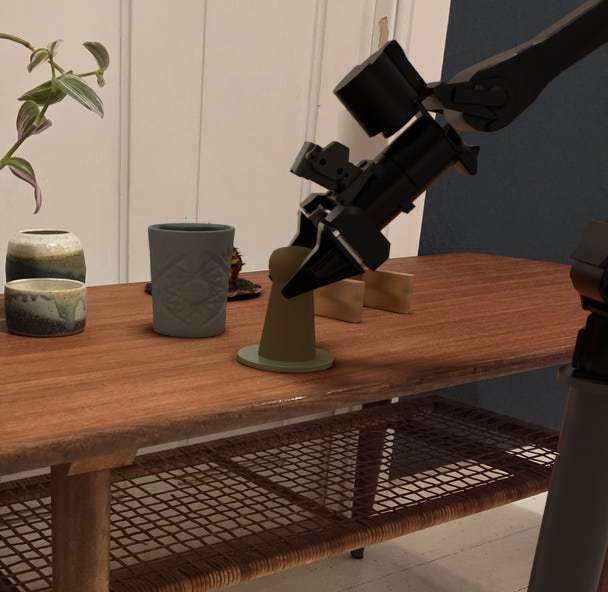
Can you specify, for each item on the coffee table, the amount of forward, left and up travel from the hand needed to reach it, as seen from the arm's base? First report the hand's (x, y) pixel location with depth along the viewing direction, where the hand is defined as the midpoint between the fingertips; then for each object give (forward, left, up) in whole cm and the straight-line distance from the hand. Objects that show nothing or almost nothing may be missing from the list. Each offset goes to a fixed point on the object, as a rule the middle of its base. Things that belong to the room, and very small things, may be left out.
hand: (276, 287), depth 90 cm
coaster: (-1, -1, -8) cm, 8 cm away
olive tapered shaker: (-1, -1, -7) cm, 7 cm away
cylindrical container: (+11, -45, -8) cm, 47 cm away
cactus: (+27, -30, -8) cm, 41 cm away
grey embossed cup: (+15, -7, -8) cm, 18 cm away
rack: (+3, -30, -8) cm, 31 cm away
